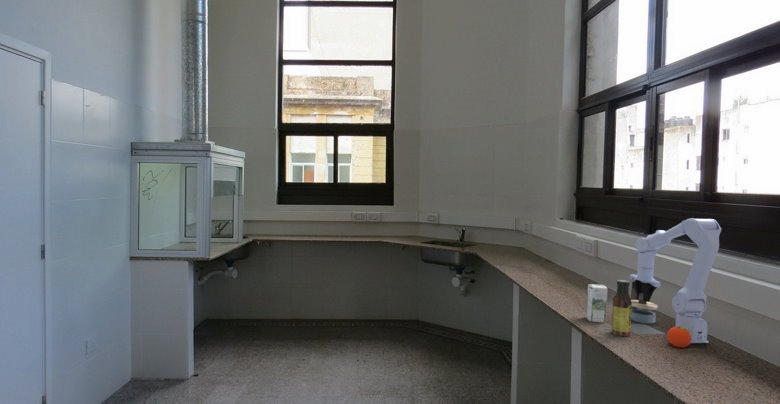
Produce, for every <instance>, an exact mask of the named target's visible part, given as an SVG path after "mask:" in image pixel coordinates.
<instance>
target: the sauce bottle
mask: <svg viewBox="0 0 780 404" xmlns="http://www.w3.org/2000/svg"><path fill="white" fill-rule="evenodd" d="M616 285H617V286H616V294H615V295H614V296H613V298H612V309H611V310H612V311H611V312H612V313H611V333H612V334H613V335H614V336H615V335H616V336H619V337H624V338H627V337H630V335H631V333H632V332H631V324H632V320H631V314H632V302H631V295H630V292H629V290H630V288H629V287H630V281H628V280H627V279H626V280H625V279H617V280H616Z"/></svg>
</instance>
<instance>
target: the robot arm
mask: <svg viewBox="0 0 780 404" xmlns="http://www.w3.org/2000/svg"><path fill="white" fill-rule="evenodd" d="M721 233H722V227H721V226H720V224H719V222H718V221H717V220H716V219H713V218H694V217H692V218H691V217H690V218H687V219H685V220H682V221H681V222H680V223H678V224H677V225H675V226H673V227H671V228H669V229H667V230H663V229H662V230H661V229H658V230H656V231H655V233H653V234H648V235H647V236H646V237H639V238H637V240H636V241H635V249H636V250H637V253H638V254H637V267H636V268H637V270H636V274H633V273H631V274H630V275H629V279H630V280H634V281H631V282H632V283H631V285H632V284H633V285H634V288H635V290H636V294H637V299H639V293H643V300H644V302H650V301H651V298H652V296H653V294H654V292H655V290H657V288H660V287H661V281H658V280H657V279H655V278H654V272H655V271H654V267H655V257H656V256H657V252H658V251H659V250H660V248H662V247H665V246H666V245H670V243H672V242H671V241H672V240H673V239H675V238H678V237H682V236H684V235H686V236H688V237H689V238H690V240H691V241H692V242H693V243H694V244H696V246H697V247H698V248H697V251H696V253H695V257H694V259H693V263H692V265H691V268H690V271H689V273H688V276H687V279H686V282H685V284H684V286H683V287H682V288H681V289H679V290H677V293H676V295H675V296H673V298H672V299H671V307H672V309H673V310H674V313H675V314H676V315H675V326H674V327H679V326H680V327H684V328H687V329H689V330H687V329H686V330H687V331H688V332H689V333H690V335H691V342H690V344H708V343H709V341H708V329H709V326H708V323H707V321H706V320H705V319H703V318H702V317H701V316H703V313H704V312H705V311H706V309H707V299H708V296H707V295H706V294H705V293H704V291H705V288H706V285H707V282H708V279H709V276H710V274H711V271H712V268H713V266H714V263H715V259H716V257H717V254H718V251H719V248H720V235H721ZM691 331H692V332H691ZM693 333H694V334H693ZM694 335H695V336H694Z"/></svg>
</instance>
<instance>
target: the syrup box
mask: <svg viewBox="0 0 780 404" xmlns="http://www.w3.org/2000/svg"><path fill="white" fill-rule="evenodd" d="M608 290H609V289H608V287H607V286H605V284H595V283H593V284H592V283H588V285H587V296H586V297H587V298H586V312H585V318H586V319H587V320H588V321H589V322H592V323H606V315H607V303H608Z"/></svg>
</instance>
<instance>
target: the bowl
mask: <svg viewBox="0 0 780 404" xmlns="http://www.w3.org/2000/svg"><path fill="white" fill-rule="evenodd" d="M656 318H657V314H656V312H653V311H651V310H648V311H647V310H641V309H632V314H631V321H633V322H637V323H640V324H655V323H656Z"/></svg>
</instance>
